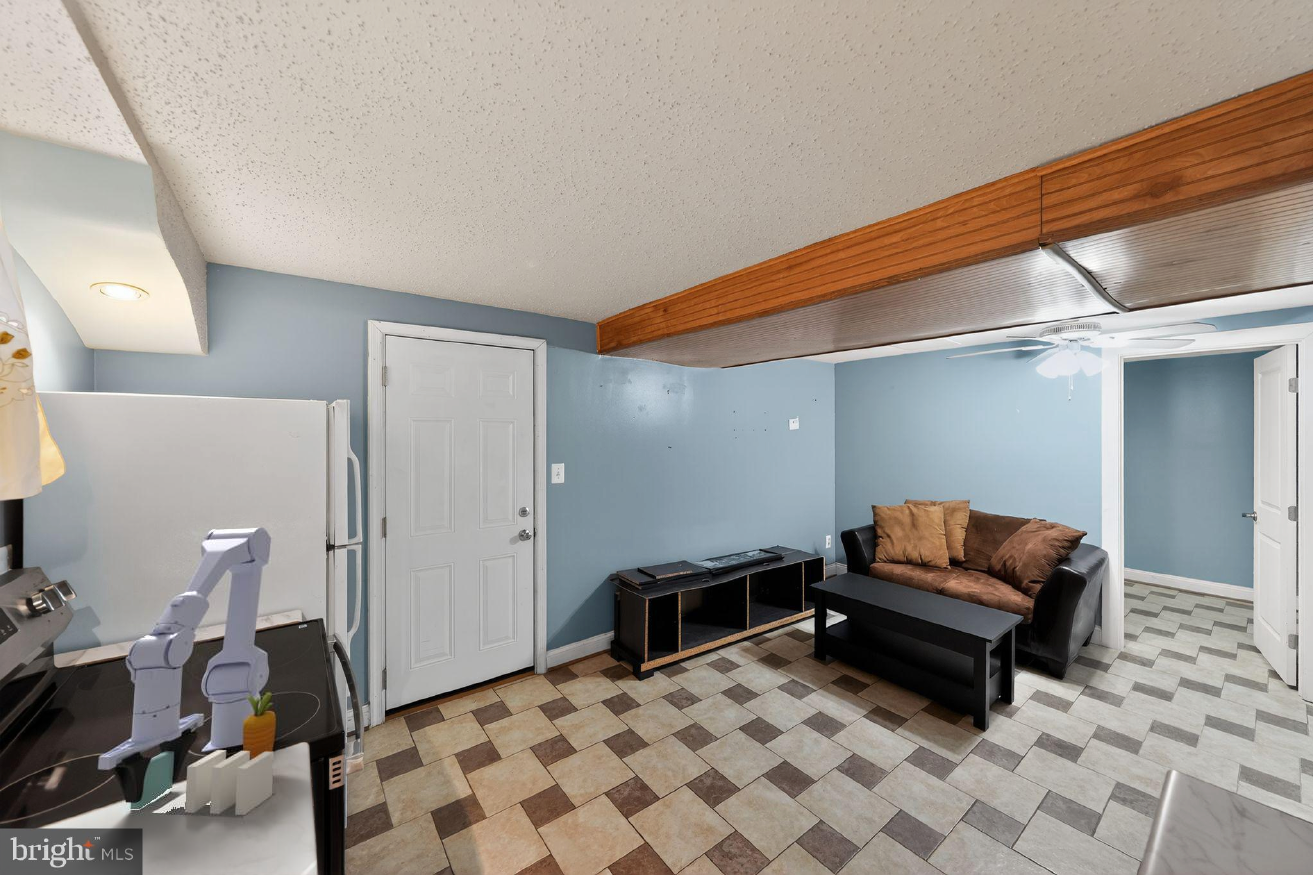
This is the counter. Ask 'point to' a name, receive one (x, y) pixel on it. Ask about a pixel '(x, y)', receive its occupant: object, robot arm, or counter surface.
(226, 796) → the domino
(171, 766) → the tile
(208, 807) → the mat
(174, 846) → the counter surface
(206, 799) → the domino
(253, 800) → the domino
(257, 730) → the carrot
